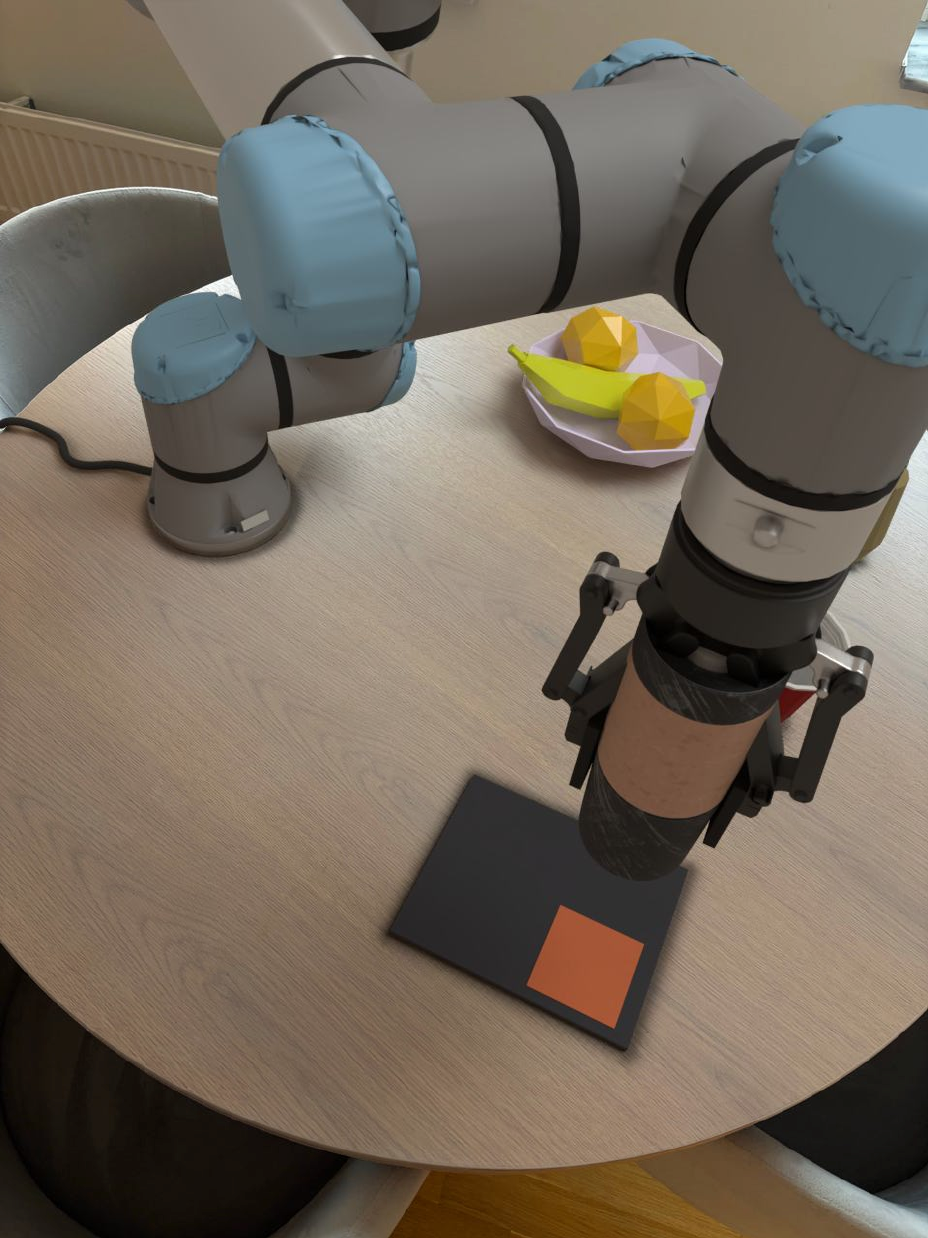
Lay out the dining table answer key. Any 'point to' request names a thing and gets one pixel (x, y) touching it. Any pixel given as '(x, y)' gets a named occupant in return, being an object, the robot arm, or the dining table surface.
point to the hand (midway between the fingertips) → (647, 798)
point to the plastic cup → (810, 670)
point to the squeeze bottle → (885, 517)
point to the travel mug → (667, 756)
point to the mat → (539, 912)
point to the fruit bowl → (620, 388)
